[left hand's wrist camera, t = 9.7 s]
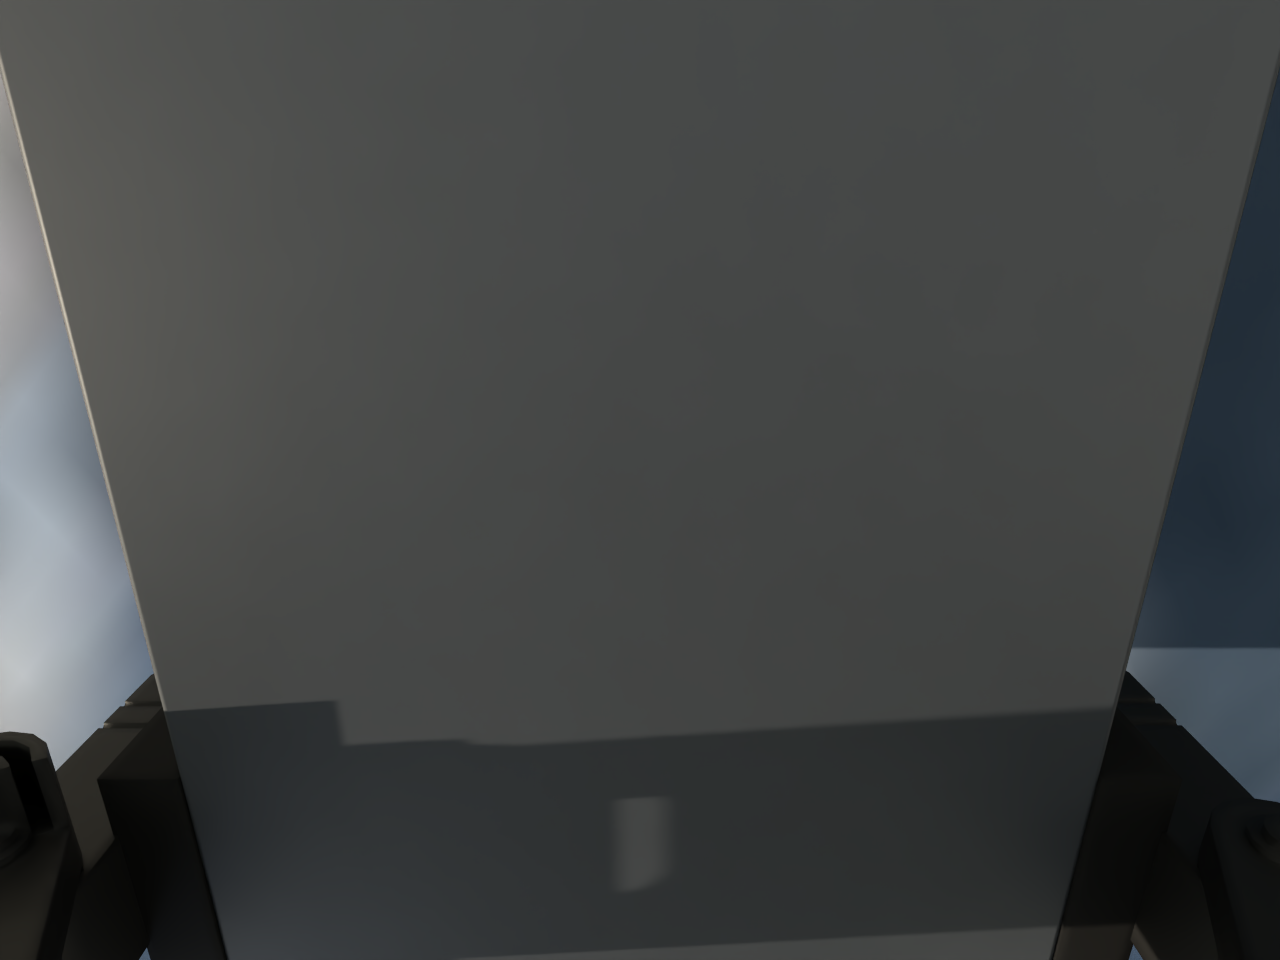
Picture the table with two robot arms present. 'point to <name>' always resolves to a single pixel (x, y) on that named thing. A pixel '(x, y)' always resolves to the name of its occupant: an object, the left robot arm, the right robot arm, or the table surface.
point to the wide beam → (639, 443)
